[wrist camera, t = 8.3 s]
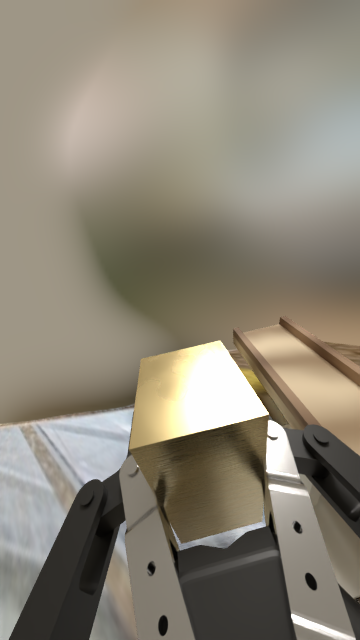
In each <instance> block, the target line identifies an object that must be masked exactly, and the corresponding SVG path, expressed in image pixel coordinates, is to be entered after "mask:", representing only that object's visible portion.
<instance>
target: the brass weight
mask: <svg viewBox="0 0 360 640" xmlns="http://www.w3.org/2000/svg"><path fill="white" fill-rule="evenodd" d="M268 423H269V413H268V412H267V410H266V409H265V407H264V406H263V404H262V403H261V401H260V400H259V398H258V397H257V395H256V394H255V392H254V391H253V389H252V388H251V386H250V385H249V383H248V382H247V380H246V379H245V377H244V376H243V374H242V373H241V371H240V370H239V368H238V367H237V365H236V364H235V362H234V360H233V359H232V357H231V356H230V354H229V353H228V351H227V350H226V348H225V347H224V345H223V344H222V342H221V341H216V342H212V343H208V344H203V345H200V346H195V347H191V348H187V349H182V350H178V351H173V352H169V353H165V354H160V355H156V356H152V357H148V358H143V359H141V364H140V371H139V379H138V386H137V393H136V401H135V408H134V415H133V423H132V430H131V438H130V445H129V450H130V452H131V454H132V456H133V458H134V459H135V461H136V463H137V465H138V467H139V468H140V470H141V472H142V474H143V476H144V477H145V479H146V481H147V483H148V485H149V486H150V487H151V486H153V487H154V489H155V491H156V494H157V498H158V501H159V504H160V506H164V508H165V510H166V512H167V516H168V519H169V522H170V524H171V526H172V528H173V529H174V531H175V533H176V535H177V537H178V538H179V540H180V542H181V544H182V543H186V542H190V541H193V540H197V539H201V538H204V537H208V536H211V535H215V534H219V533H222V532H226V531H229V530H233V529H237V528H240V527H244V526H247V525H251V524H255V523H258V522H262V516H263V495H262V488H261V480H262V479H264V472H263V466H262V457H266V454H267V439H268Z"/></svg>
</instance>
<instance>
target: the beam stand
mask: <svg viewBox="0 0 360 640" xmlns="http://www.w3.org/2000/svg"><path fill="white" fill-rule="evenodd" d="M282 427H284V428H288V429H292V427H291V426H290V424H286V425H283V426H282ZM299 477H300V480H301V482H302V483H303V484H304V485H305V486H306V488H307V491H308V493H309V496H310V499H311V502H312V505H313V508H314V512H315V515H316V518H317V521H318V524H319V527H320V530H321V533H322V536H323V539H324V542H325V545H326V549H327V552H328V555H329V558H330V561H331V564H332V567H333V570H334V573H335V576H336V579H337V583H338V584H339V585H340V586H341V587H342V588H343V589H344V590H345V591H346V592H348V593H349V594H350V595H351V596H352V597H353V598H354V599H355V598H358V597H360V538H359V537H358V536H357V535H356V534H355V533H354V531H353V530H352V529H351V528H350V527H349V526H348V524H347V523H346V522H345V521H344V520H343V519H342V518H341V516H340V515H339V514H338V513H337V512H336V511H335V509H334V508H333V507H332V506H331V505H330V504H329V503H328V501H327V500H326V499H325V498H324V497H323V496H322V494H321V493H320V492H319V491H318V490H317V489H316V487H315V486H314V485H313V484H312V483H311V482H310V481H309V479H308V478H307V477H306V476H305V475H303V474H299Z"/></svg>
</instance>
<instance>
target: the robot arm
mask: <svg viewBox="0 0 360 640" xmlns="http://www.w3.org/2000/svg"><path fill="white" fill-rule="evenodd" d="M133 415H134V412H133ZM132 423H133V418H132ZM131 427H132V426H131ZM131 430H132V428H131ZM130 438H131V433H130ZM129 445H130V441H129ZM262 466H263V472H264V479H262V480H261V488H262V495H263V502H264V514H265V522H266V527H263V528H259V529H255V530H252V531H248V532H246V533H245V534H244V535H242V536H241V537H240V538H239V539H237V540H236V541H235V542H234V543H233V544H231V545H230V546H229V547H228V548H225V549H223V548H216V547H210V546H204V545H198V546H195V547H191V548H188V549H184V550H181V551H180V550H179V547H178V544H177V541H176V538H175V536H174V533H173V531H172V528H171V525H170V522H169V519H168V516H167V512H166V510H165V508H164V506H160V504H159V501H158V498H157V494H156V491H155V489H154V487H153V486H151V487H150V486H149V485H148V483H147V481H146V479H145V477H144V476H143V474H142V472H141V470H140V468H139V467H138V465H137V463H136V461H135V459H134V458H133V456H132V454H131V452H130V450H129V448H128V455H127V458H126V460H125V461H124V463H123V464H122V466H121V468H120V469H119V470H118V471H117V472H116V473H115V474H113V475H112V476H110V477H109V478H107V479H106V480H104V481H103V482H101V481H100V480H98V479H94V480H91V481H89V482H88V483H86V484H85V485H84V486H83V487H82V488H81V489H80V491H79V492H78V494H77V496H76V498H75V500H74V502H73V504H72V506H71V508H70V510H69V513H68V515H67V517H66V519H65V521H64V523H63V525H62V527H61V530H60V532H59V534H58V536H57V538H56V540H55V542H54V544H53V547H52V549H51V551H50V553H49V555H48V557H47V559H46V561H45V564H44V566H43V568H42V570H41V572H40V574H39V576H38V578H37V581H36V583H35V585H34V587H33V589H32V591H31V593H30V596H29V598H28V600H27V602H26V604H25V606H24V608H23V610H22V613H21V615H20V617H19V619H18V621H17V623H16V625H15V627H14V630H13V632H12V634H11V636H10V638H9V640H89V638H90V634H91V630H92V627H93V623H94V619H95V616H96V612H97V608H98V604H99V601H100V597H101V593H102V590H103V586H104V582H105V579H106V575H107V571H108V568H109V564H110V560H111V557H112V553H113V549H114V546H115V542H116V538H117V534H118V531H119V527H120V524H121V523H123V522H124V521H125V520H126V525H127V530H126V532H125V546H126V553H127V561H128V568H129V575H130V583H131V590H132V598H133V605H134V613H135V620H136V627H137V635H138V640H360V604H359V603H358V602H357V601H356V600H355V599H354V598H353V597H352V596H351V595H350V594H349V593H348V592H346V591H345V590H344V589H343V588H342V587H341V586H340V585H339V584H338V583H337V579H336V576H335V573H334V570H333V567H332V564H331V561H330V558H329V555H328V552H327V549H326V545H325V542H324V539H323V536H322V533H321V530H320V527H319V524H318V521H317V518H316V515H315V512H314V508H313V505H312V502H311V499H310V496H309V493H308V491H307V488H306V486H305V485H304V484H303V483H302V482H301V480H300V477H299V474H303V475H305V476H306V477H307V478H308V479H309V481H310V482H311V483H312V484H313V485H314V486H315V487H316V489H317V490H318V491H319V492H320V493H321V494H322V496H323V497H324V498H325V499H326V500H327V501H328V503H329V504H330V505H331V506H332V507H333V508H334V509H335V511H336V512H337V513H338V514H339V515H340V516H341V518H342V519H343V520H344V521H345V522H346V523H347V524H348V526H349V527H350V528H351V529H352V530H353V531H354V533H355V534H356V535H357V536H358V537H359V538H360V456H359V455H358V454H357V453H355V452H354V451H353V450H352V449H351V448H349V447H348V446H347V445H346V444H345V443H343V442H342V441H341V440H340V439H338V438H337V437H336V436H335V435H334V434H332V433H331V432H330V431H329V430H327V429H326V428H324V427H322V426H319V425H314V424H310V425H307V426H306V427H305V428H304V430H297V429H288V428H284V427H282V426H280V425H279V424H277V423H276V422H274V421H273V420H272V418H271V417H270V415H269V423H268V439H267V454H266V457H262Z"/></svg>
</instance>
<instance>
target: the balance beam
mask: <svg viewBox="0 0 360 640" xmlns="http://www.w3.org/2000/svg"><path fill="white" fill-rule="evenodd" d="M233 339H234V344H235V346H236V347H237V349H238V351H239V352H240V353H241V355H242V356H243V358H244V359H245V361H246V362H247V364H248V365H249V367H250V368H251V369H252V371H253V372H254V374H255V375H256V377H257V378H258V380H259V381H260V382H261V384H262V385H263V387H264V388H265V390H266V391H267V393H268V394H269V395H270V397H271V398H272V400H273V401H274V403H275V404H276V406H277V407H278V408H279V410H280V411H281V413H282V414H283V416H284V417H285V419H286V420H287V422H288V423H289V424H290V426H291V427H292V429H297V430H304V428H305V427H306V426H307V425H310V424H314V425H319V426H322V427H324V428H326V429H327V430H329V431H330V432H331V433H332V434H334V435H335V436H336V437H337V438H338V439H340V440H341V441H342V442H343V443H345V444H346V445H347V446H348V447H349V448H351V449H352V450H353V451H354V452H355V453H357V454H358V455H359V456H360V367H359V366H358V365H356V364H355V363H353V362H352V361H350V360H349V359H348V358H346V357H345V356H343V355H342V354H340V353H339V352H337V351H336V350H334V349H333V348H331V347H330V346H328V345H327V344H326V343H324V342H323V341H321V340H320V339H318V338H317V337H315V336H314V335H312V334H311V333H309V332H308V331H306V330H305V329H304V328H302V327H301V326H299V325H298V324H296V323H295V322H293V321H292V320H290V319H289V318H287V317H286V316H283V317H280V322H279V324H278V325H273V326H269V327H265V328H261V329H257V330H253V331H249V332H245V333H243V332H242V331H241V330H240V329H239V328H234V329H233Z"/></svg>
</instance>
